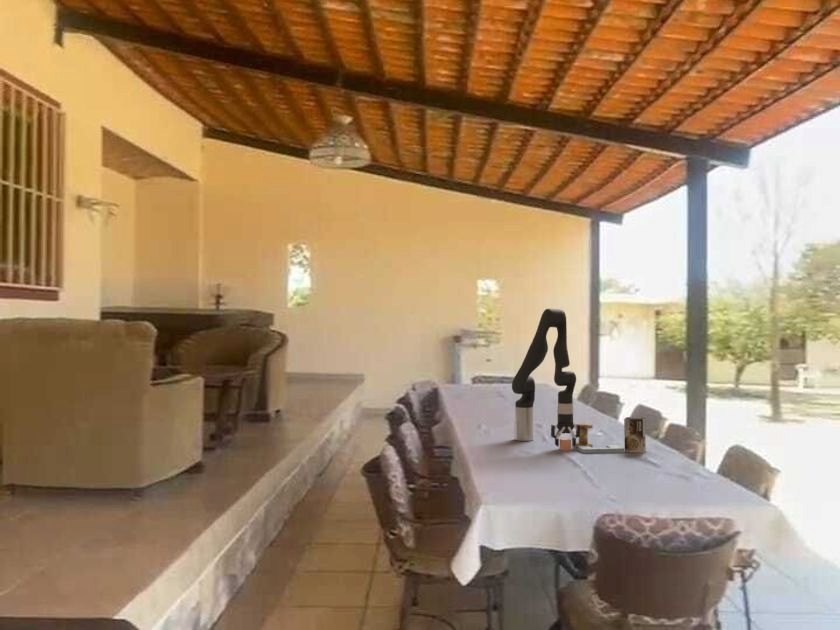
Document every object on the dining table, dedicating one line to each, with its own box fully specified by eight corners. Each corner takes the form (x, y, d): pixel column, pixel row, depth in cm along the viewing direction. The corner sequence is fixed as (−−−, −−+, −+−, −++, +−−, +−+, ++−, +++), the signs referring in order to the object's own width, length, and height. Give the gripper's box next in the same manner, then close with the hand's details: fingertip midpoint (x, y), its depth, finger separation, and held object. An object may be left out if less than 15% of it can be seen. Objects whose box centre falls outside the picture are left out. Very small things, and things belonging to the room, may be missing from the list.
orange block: (562, 450, 422) (562, 440, 422) (559, 448, 426) (559, 438, 426) (571, 450, 422) (571, 439, 422) (568, 448, 427) (568, 438, 427)
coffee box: (646, 451, 417) (645, 417, 417) (643, 453, 412) (643, 419, 411) (626, 450, 421) (626, 416, 421) (624, 452, 415) (623, 418, 415)
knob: (576, 448, 427) (576, 425, 427) (571, 445, 436) (571, 423, 436) (594, 447, 428) (594, 425, 428) (589, 444, 437) (589, 422, 437)
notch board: (583, 453, 412) (583, 449, 412) (577, 450, 422) (577, 445, 422) (624, 452, 414) (624, 448, 414) (617, 449, 424) (617, 445, 424)
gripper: (552, 413, 419) (553, 447, 420) (581, 413, 421) (582, 447, 421) (548, 411, 427) (549, 445, 427) (577, 411, 428) (577, 444, 429)
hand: (565, 446), depth 424 cm, fingers open, 7 cm apart
